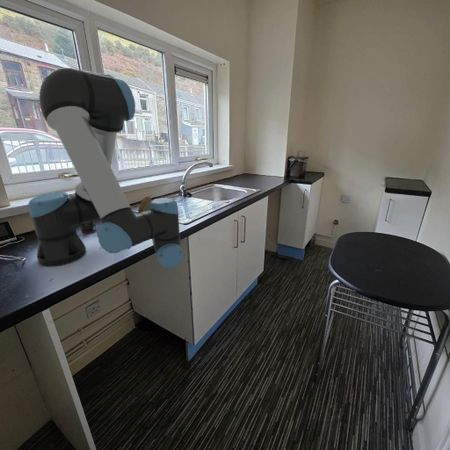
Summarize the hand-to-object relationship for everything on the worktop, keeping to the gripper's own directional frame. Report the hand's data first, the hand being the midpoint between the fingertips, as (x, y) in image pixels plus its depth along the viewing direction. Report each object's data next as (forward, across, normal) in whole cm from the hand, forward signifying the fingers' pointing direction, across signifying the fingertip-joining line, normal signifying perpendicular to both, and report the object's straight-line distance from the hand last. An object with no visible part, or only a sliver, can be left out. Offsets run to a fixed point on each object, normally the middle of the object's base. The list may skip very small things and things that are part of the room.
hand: (155, 216), depth 101 cm
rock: (+38, -3, -10) cm, 40 cm away
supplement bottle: (+19, -29, -10) cm, 36 cm away
